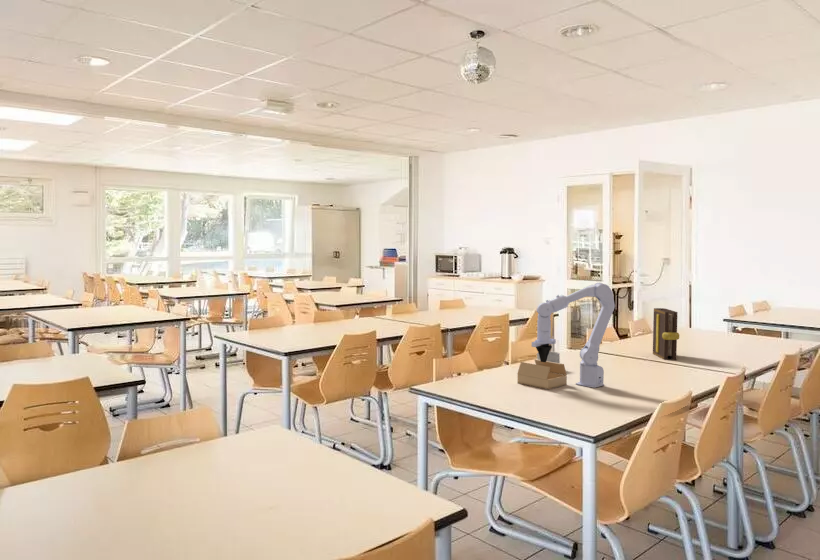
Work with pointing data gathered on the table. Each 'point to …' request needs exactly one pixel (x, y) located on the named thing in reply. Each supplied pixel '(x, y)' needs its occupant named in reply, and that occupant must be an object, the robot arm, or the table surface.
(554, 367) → the flap right
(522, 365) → the flap left
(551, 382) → the carton
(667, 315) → the book
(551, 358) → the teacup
